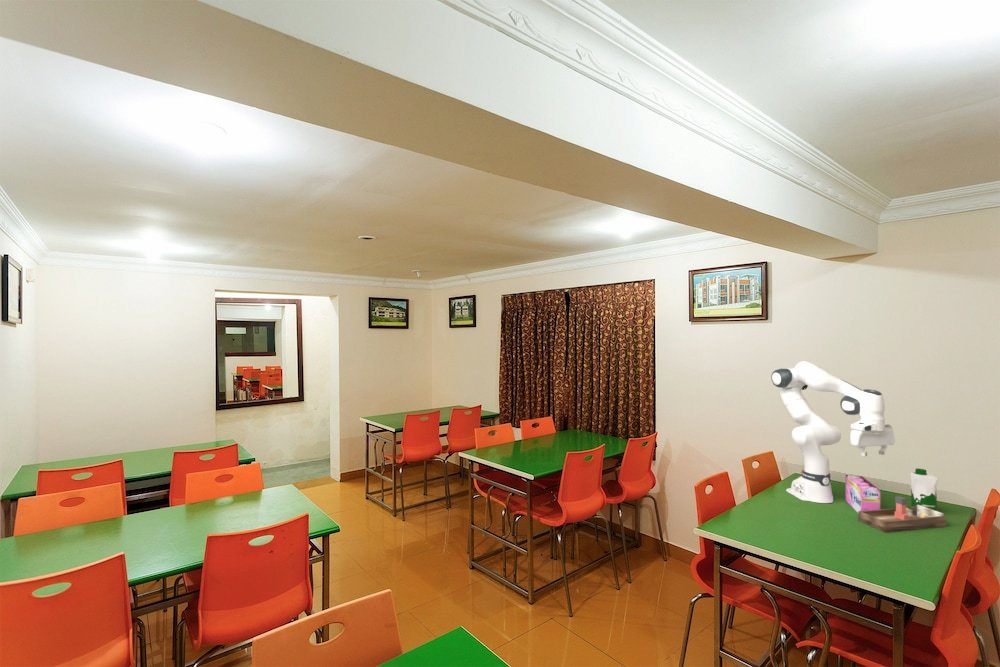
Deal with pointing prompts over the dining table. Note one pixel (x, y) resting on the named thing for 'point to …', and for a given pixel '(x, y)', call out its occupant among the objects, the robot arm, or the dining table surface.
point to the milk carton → (923, 489)
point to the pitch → (889, 523)
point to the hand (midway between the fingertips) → (872, 455)
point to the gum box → (862, 494)
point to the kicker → (901, 508)
